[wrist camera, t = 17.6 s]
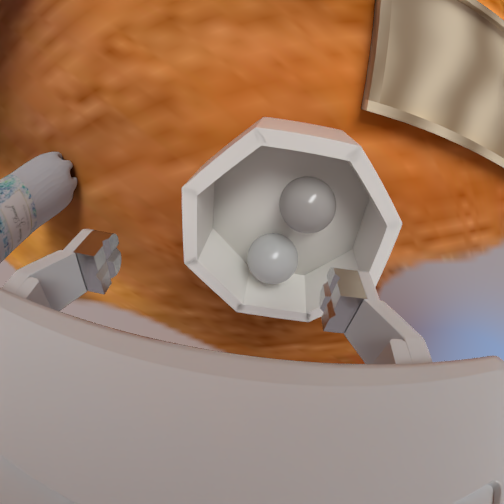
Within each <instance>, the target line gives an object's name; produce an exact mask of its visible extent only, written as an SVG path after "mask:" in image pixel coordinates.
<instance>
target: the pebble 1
mask: <svg viewBox="0 0 504 504" xmlns="http://www.w3.org/2000/svg"><path fill="white" fill-rule="evenodd" d="M247 263H248V267H249V270H250V271H251V273H252V274H253V276H254V277H255V278H256V279H258V280H259V281H261V282H263V283H267V284H279V283H282V282H284V281H286V280H288V279H289V278H290V277H291V276H292V275H293V274H294V272H295V270H296V268H297V265H298V252H297V249H296V247H295V245H294V244H293V242H292V241H291V240H290V239H289V238H287V237H286V236H284V235H281V234H278V233H268V234H264V235H262V236H260V237H258V238H257V239H256V240H255V241H254V242H253V243H252V244H251V246H250V248H249V250H248V254H247Z"/></svg>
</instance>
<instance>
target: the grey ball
mask: <svg viewBox="0 0 504 504" xmlns="http://www.w3.org/2000/svg"><path fill="white" fill-rule="evenodd" d="M279 209H280V213H281V216H282V218H283V220H284V221H285V223H286V224H287V225H288V226H289V227H290V228H292V229H293V230H295V231H297V232H300V233H305V234H311V233H316V232H319V231H321V230H323V229H324V228H326V227H327V226H328V225H329V224H330V223H331V221H332V220H333V218H334V216H335V212H336V199H335V195H334V193H333V191H332V189H331V188H330V187H329V186H328V184H326V183H325V182H324V181H322V180H321V179H318V178H316V177H311V176H303V177H299V178H296V179H294V180H292V181H291V182H289V183H288V184H287V185H286V186H285V188H284V189H283V191H282V193H281V196H280V199H279Z"/></svg>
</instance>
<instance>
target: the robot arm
mask: <svg viewBox="0 0 504 504" xmlns="http://www.w3.org/2000/svg"><path fill="white" fill-rule="evenodd" d="M118 244H119V241H118V236H117V235H116V234H114V233H108V232H103V231H97V230H92V229H82V230H81V231H80V232H79V233H78V235H77V236H76V237H75V238H74V239H73V240H72V241H71V242H70V243H69V244H68V245H67V246H66V247H65V248H64V249H63V250H58V251H56V252H54V253H52V254H50V255H47V256H45V257H43V258H41V259H39V260H37V261H35V262H33V263H30V264H28V265H26V266H24V267H22V268H20V269H18V270H16V271H15V272H14V274H13V275H12V276H11V277H10V278H9V279H8V281H7V282H6V283H5V284H4V285H3V287H2V288H0V504H504V361H503V360H502V359H500V358H499V357H497V356H487V357H480V358H473V359H464V360H455V361H445V362H432V359H431V356H430V353H429V351H428V348H427V345H426V343H425V340H424V338H423V337H422V336H420V334H418V333H417V332H416V331H415V330H414V329H413V328H412V327H411V326H410V325H409V324H408V323H407V322H406V321H405V320H403V319H402V318H401V317H400V316H399V315H398V314H397V313H396V312H395V311H394V310H393V309H392V308H390V307H389V306H388V305H387V304H386V303H385V302H384V301H380V299H379V297H378V294H377V291H376V289H375V286H374V283H373V281H372V278H371V276H370V273H369V272H367V271H359V270H348V269H341V268H334V267H331V268H330V269H329V271H328V273H327V279H328V281H327V282H326V283H325V284H323V286H322V289H321V292H320V298H319V304H320V309H321V310H322V311H323V312H324V313H323V315H322V317H321V318H322V325H323V331H328V332H337V333H344V335H345V336H346V338H347V339H348V340H349V342H350V343H351V344H352V346H353V347H354V348H355V350H356V351H357V353H358V354H359V355H360V357H361V358H362V359H363V361H364V362H365V364H336V363H317V362H303V361H291V360H280V359H271V358H262V357H254V356H246V355H239V354H232V353H226V352H219V351H213V350H207V349H202V348H196V347H190V346H186V345H180V344H176V343H171V342H166V341H162V340H157V339H153V338H149V337H144V336H140V335H136V334H132V333H128V332H125V331H121V330H117V329H114V328H110V327H107V326H103V325H100V324H96V323H93V322H90V321H86V320H83V319H80V318H77V317H74V316H71V315H68V314H65V313H62V312H60V310H62V309H63V308H65V307H66V306H67V305H69V304H70V303H71V302H73V301H74V300H76V299H77V298H78V297H80V296H81V295H83V294H84V293H86V292H87V291H91V292H96V293H100V294H105V293H106V291H107V289H108V288H109V286H110V285H111V278H112V277H114V276H116V275H117V273H118V272H119V270H120V266H121V253H120V252H119V250H118V249H117V248H116V247H117V245H118Z"/></svg>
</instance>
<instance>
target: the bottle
mask: <svg viewBox="0 0 504 504" xmlns="http://www.w3.org/2000/svg"><path fill="white" fill-rule="evenodd" d="M72 167H73V164H72V163H71V161H69V160H62V155H61V153H59V152H49V153H45V154H42V155H39V156H37V157H35V158H33V159H32V160H30V161H28V162H27V163H25V164H24V165H22V166H21V167H19V168H18V169H17V170H15V171H14V172H12V173H11V174H9V175H7V176H5V177H4V178H2V179H1V180H0V263H1V262H2V261H3V260H4V259H5V258H6V257H7V256H8V255H9V254H10V253H11V252H12V251H13V250H14V249H15V248H16V247H17V246H18V245H19V244H20V243H21V242H23V241H24V240H25V239H26V238H27V237H28V236H29V235H30V234H31V233H32V232H34V231H35V230H36V229H37V228H38V227H40V226H41V225H42V224H44V223H45V222H47V221H48V220H49V219H51V218H52V217H54V216H55V215H57V214H58V213H59V212H61V211H62V210H63V209H64V208H65V207H66V206H67V205H68V204H69V203H70V202H71V200H72V198H73V191H74V189H75V188H76V186H77V178H76V177H71V175H70V169H71V168H72Z"/></svg>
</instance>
